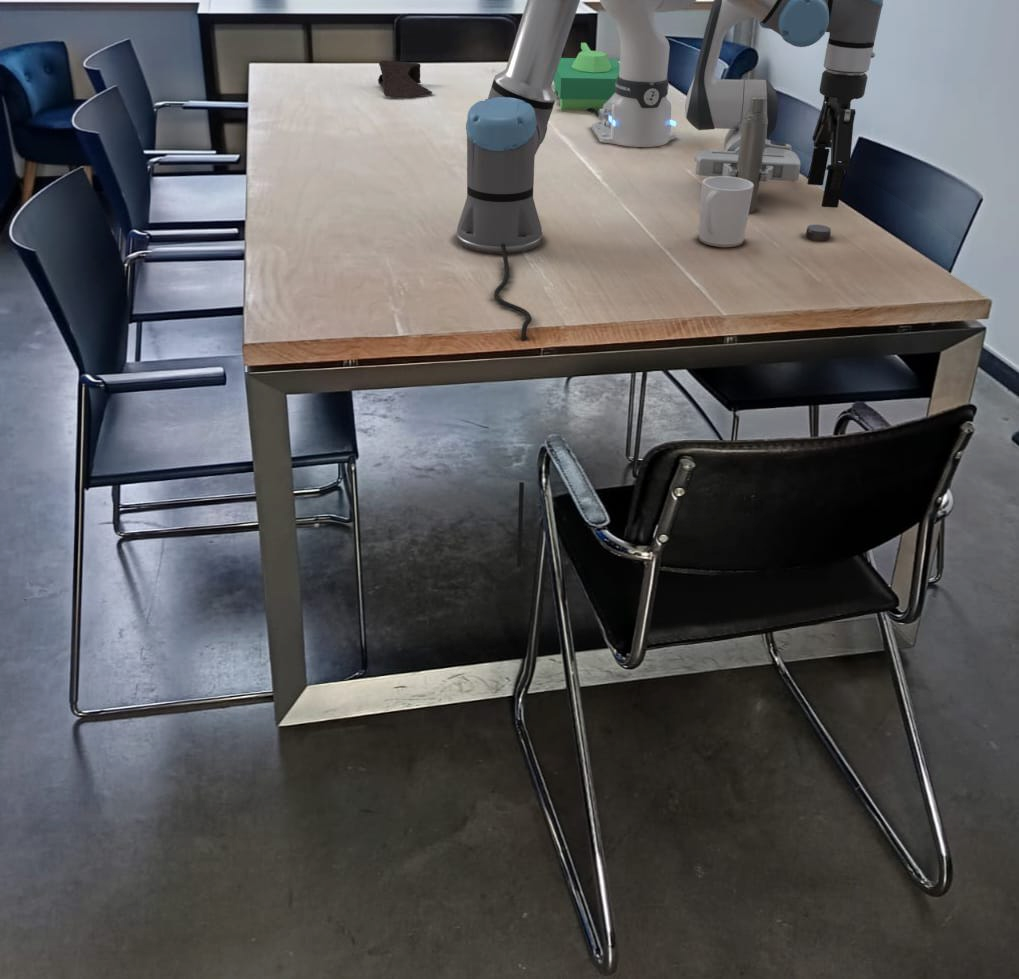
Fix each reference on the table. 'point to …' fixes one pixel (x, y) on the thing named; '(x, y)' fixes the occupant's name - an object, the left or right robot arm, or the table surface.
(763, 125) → the bottle
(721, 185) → the mug
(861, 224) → the table surface
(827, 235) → the cap
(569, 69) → the toy tank
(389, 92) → the axe head
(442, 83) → the table surface
